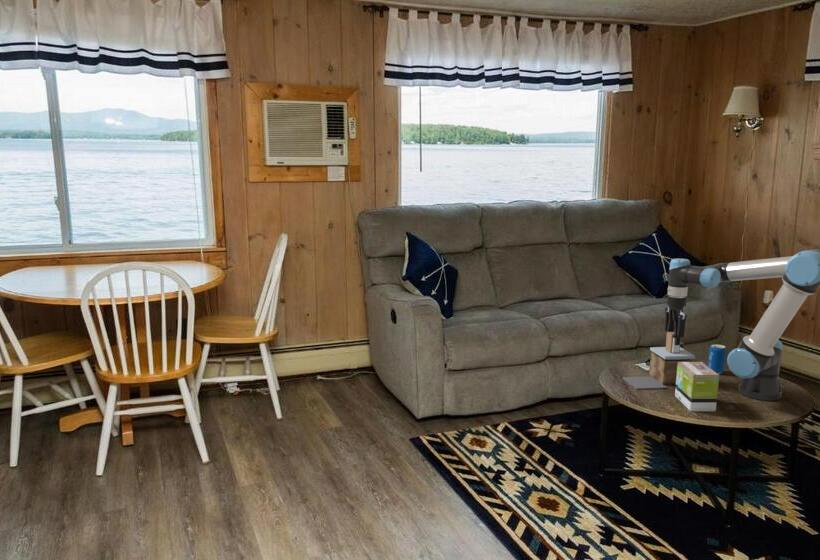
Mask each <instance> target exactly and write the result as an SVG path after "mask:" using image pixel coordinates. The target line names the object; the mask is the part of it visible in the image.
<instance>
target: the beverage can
mask: <svg viewBox="0 0 820 560" xmlns="http://www.w3.org/2000/svg"><path fill="white" fill-rule="evenodd" d="M708 351H709V353H708V360H707V361H708V362H707V366H708V367H709V368H711V369H712V370H713V371H715V372H716V373H717V374H719V375H721V374H723V373H725V365H726V363H725V362H726V354H727V349H726V346H725V345H722V344H716V343H715V344H713V343H712V344H711V345H710V347H709V350H708Z"/></svg>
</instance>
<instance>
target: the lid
mask: <svg viewBox="0 0 820 560" xmlns="http://www.w3.org/2000/svg"><path fill="white" fill-rule="evenodd" d="M673 336H674V332H667V331H666V338H665V339H666V340H665V346H653V347H649V349H650V350H649V351H651V353H656V354H657V355H659V356H660V357H662V358H664V359H666V360H688V359H690V360H692V359H693V360H694V359H696V355H694V354H693V353H692V352H690V351H687V350H686V349H685V350H684V348H683V349H682V348H681V347H680V345H679V352H676V353H673V352H672V344H673ZM681 338H682V337H681ZM681 338H680V341H681V340H682V339H681Z"/></svg>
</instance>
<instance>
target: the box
mask: <svg viewBox="0 0 820 560" xmlns="http://www.w3.org/2000/svg"><path fill="white" fill-rule="evenodd" d="M649 360H650V361H649V371H648V375H649V376H652V377H653V378H655V379H656V380H658V381H659V382H660V383H662V384H672V385H676V377H677V365H678V362H693V360H692V359H688V360H666V359H664V358H662V357H660V356H659V355H657V354H656V353H654V352H650V359H649Z"/></svg>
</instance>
